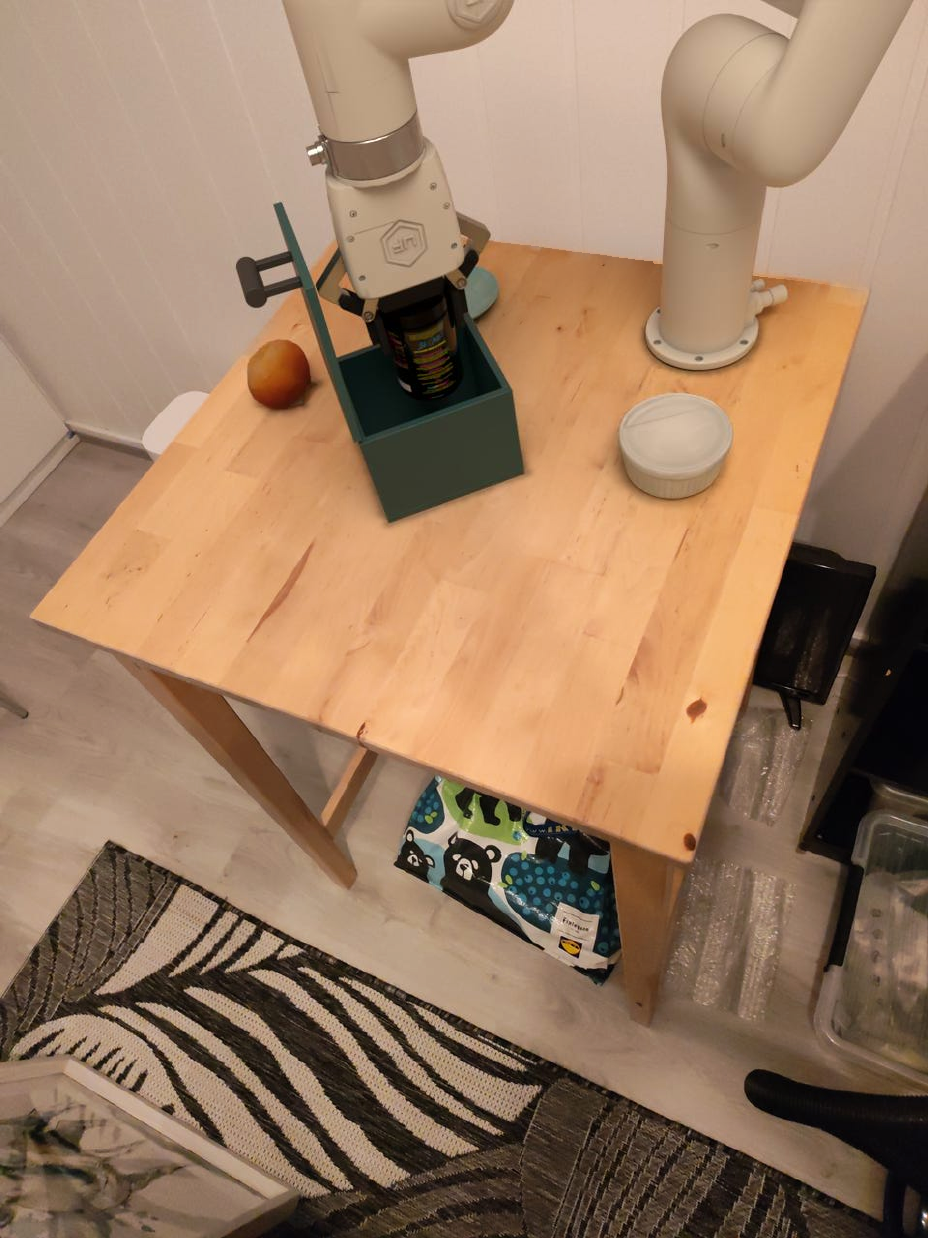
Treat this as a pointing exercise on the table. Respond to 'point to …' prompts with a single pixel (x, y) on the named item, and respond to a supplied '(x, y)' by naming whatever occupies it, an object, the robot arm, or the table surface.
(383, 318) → the supplement container
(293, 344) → the fruit
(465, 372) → the box
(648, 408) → the ramekin
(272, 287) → the lid
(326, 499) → the table surface
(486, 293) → the saucer
